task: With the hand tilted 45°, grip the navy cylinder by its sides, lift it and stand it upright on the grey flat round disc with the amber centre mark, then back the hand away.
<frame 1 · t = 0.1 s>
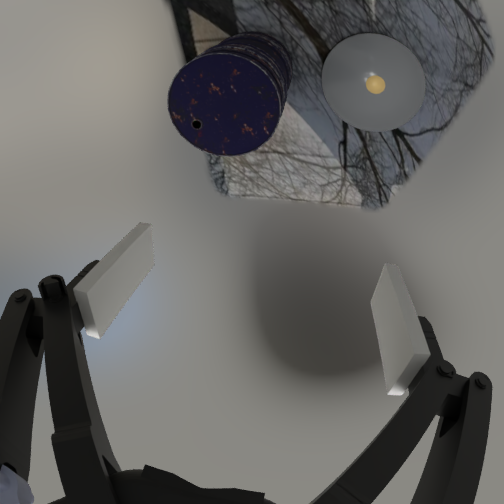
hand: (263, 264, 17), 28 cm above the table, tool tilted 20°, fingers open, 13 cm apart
navy cylinder: (253, 66, 33), on the table
grey flat round disc: (373, 81, 31), on the table
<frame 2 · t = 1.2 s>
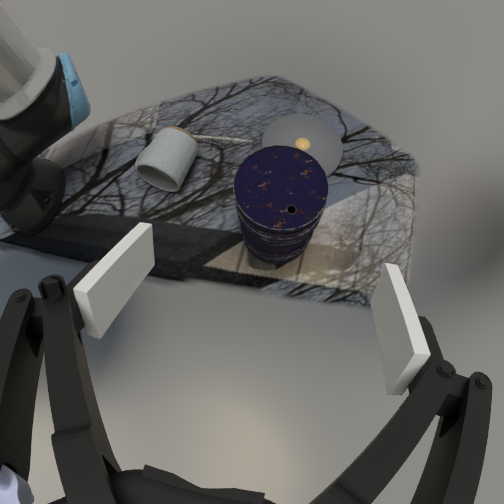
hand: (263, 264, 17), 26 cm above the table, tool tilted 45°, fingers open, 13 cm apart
navy cylinder: (276, 231, 45), on the table
grey flat round disc: (301, 149, 48), on the table
ceramic mug: (167, 169, 49), on the table
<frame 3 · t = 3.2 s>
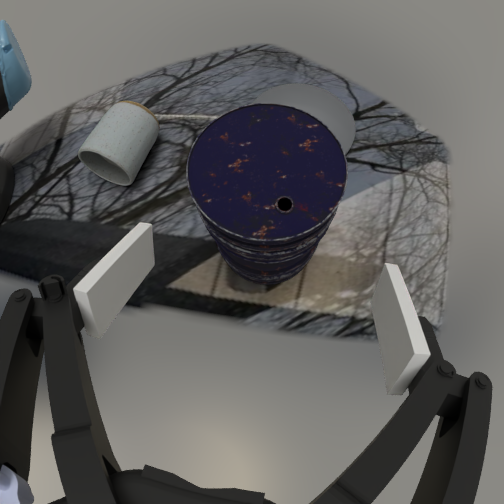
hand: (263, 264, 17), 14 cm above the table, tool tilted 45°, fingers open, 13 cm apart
navy cylinder: (267, 238, 32), on the table
grey flat round disc: (301, 127, 35), on the table
ceramic mug: (123, 158, 36), on the table
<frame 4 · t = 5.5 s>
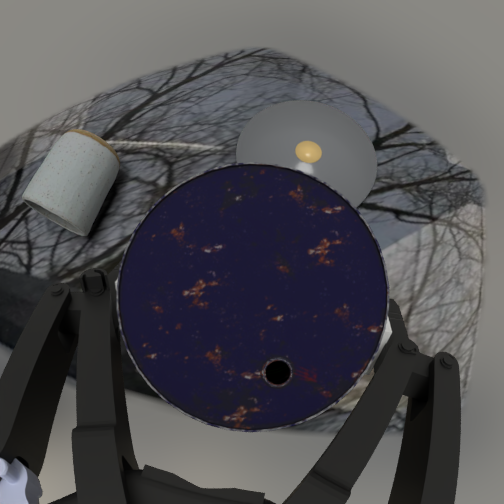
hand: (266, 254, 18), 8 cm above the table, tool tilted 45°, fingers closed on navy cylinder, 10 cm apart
navy cylinder: (259, 316, 25), on the table, touching gripper
grey flat round disc: (306, 160, 28), on the table
ceramic mug: (81, 197, 29), on the table
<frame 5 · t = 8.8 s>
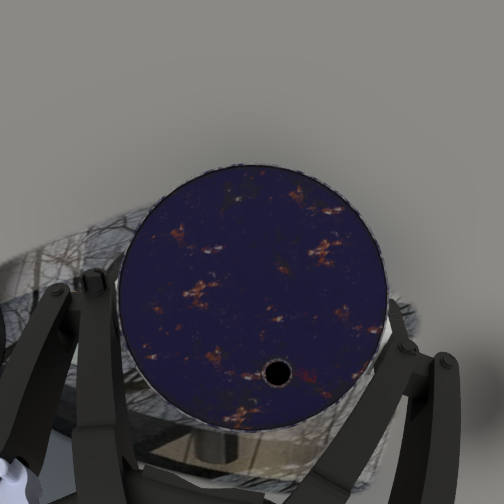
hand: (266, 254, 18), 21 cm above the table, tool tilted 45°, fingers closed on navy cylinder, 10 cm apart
navy cylinder: (259, 316, 25), point 13 cm above the table, touching gripper
when the fingers open (11 cm above the table, at t = 12.2 s): navy cylinder drops 1 cm, resting on grey flat round disc.
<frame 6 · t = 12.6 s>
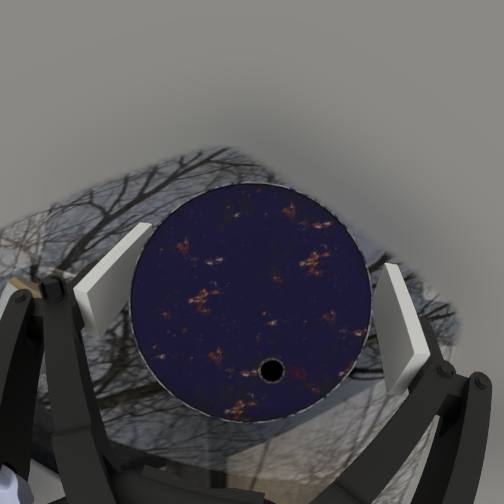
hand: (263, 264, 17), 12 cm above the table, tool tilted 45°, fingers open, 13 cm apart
navy cylinder: (260, 318, 26), point 1 cm above the table, touching grey flat round disc
ceramic mug: (40, 323, 28), on the table
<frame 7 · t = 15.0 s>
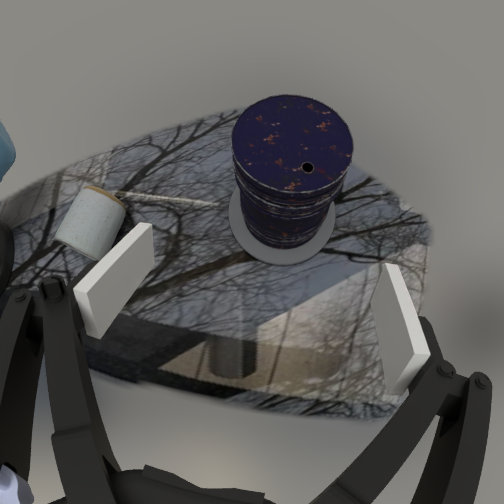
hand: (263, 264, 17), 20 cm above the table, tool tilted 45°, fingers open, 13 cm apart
navy cylinder: (283, 211, 37), point 1 cm above the table, touching grey flat round disc
grey flat round disc: (281, 215, 39), on the table
ceramic mug: (97, 232, 40), on the table
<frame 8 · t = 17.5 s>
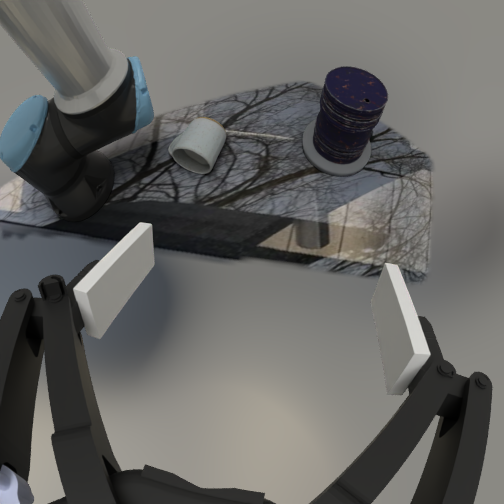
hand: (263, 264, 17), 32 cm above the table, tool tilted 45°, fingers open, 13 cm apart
navy cylinder: (338, 143, 53), point 1 cm above the table, touching grey flat round disc
grey flat round disc: (336, 146, 54), on the table
ceramic mug: (197, 155, 55), on the table
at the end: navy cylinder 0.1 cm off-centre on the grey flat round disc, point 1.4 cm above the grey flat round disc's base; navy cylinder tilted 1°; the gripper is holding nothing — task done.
